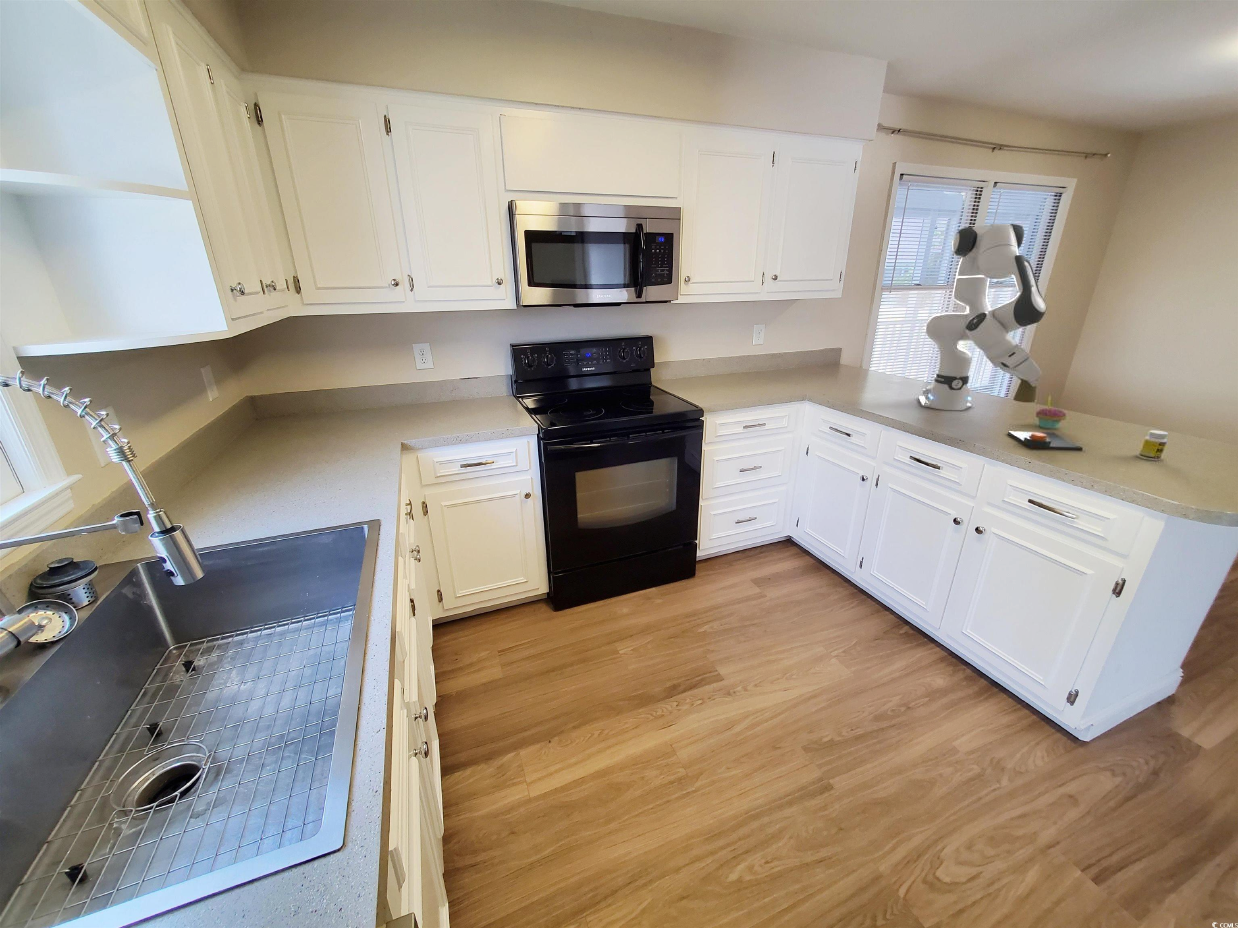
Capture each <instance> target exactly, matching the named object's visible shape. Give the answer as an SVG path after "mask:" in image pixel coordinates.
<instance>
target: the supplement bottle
mask: <svg viewBox="0 0 1238 928" xmlns="http://www.w3.org/2000/svg"><path fill="white" fill-rule="evenodd" d="M1168 436H1169V433H1168V432H1166V431H1163V430H1158V429H1157V430H1154V429H1151V430H1149V431H1148V434H1147V436H1145V437H1144V440H1143V442H1142V445H1141V448H1140V450H1139V453H1138V457H1139V458H1140V459H1144V460H1148V461H1160V460H1161V458H1162V456H1163V454H1164V451H1165V449H1166V445H1167V443H1168V439H1167V438H1168Z"/></svg>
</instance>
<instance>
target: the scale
mask: <svg viewBox="0 0 1238 928" xmlns="http://www.w3.org/2000/svg"><path fill="white" fill-rule="evenodd" d="M1034 432H1035V431H1008V432H1007V435H1008V436H1009V437H1011V438H1013V439H1014V440H1017V441H1018V442H1020V443H1021V444H1023V445H1024V446H1026V447H1027V448H1029V449H1031V450H1044V451H1045V450H1046V451H1047V450H1048V451H1049V450H1050V451H1078V452H1079V451H1082V450H1083V446H1081V445H1079V444H1077V443H1075V442H1073V441H1072V440H1069V439H1067V438H1065V437H1063V436H1062V435H1060V434H1057V433H1055V432H1049V431H1048V432H1045V431H1036V432H1037V433H1044V434H1046V435H1047V437H1046V440H1034V439H1031V438H1030V437H1031V433H1034Z"/></svg>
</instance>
